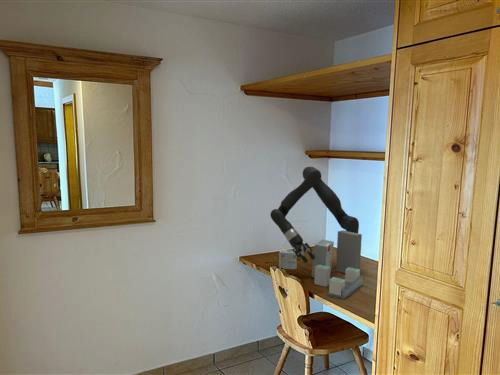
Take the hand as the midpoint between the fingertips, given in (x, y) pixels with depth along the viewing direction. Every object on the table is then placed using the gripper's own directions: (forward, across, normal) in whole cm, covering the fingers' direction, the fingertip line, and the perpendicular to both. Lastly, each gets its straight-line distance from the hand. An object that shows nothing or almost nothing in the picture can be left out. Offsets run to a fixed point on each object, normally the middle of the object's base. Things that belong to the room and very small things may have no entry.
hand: (310, 260), depth 223 cm
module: (+14, +1, +3) cm, 14 cm away
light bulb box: (-7, +13, +25) cm, 29 cm away
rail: (+24, +1, -7) cm, 25 cm away
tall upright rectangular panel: (+16, +29, +1) cm, 33 cm away
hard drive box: (+9, +14, +8) cm, 18 cm away
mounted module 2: (+22, +11, -7) cm, 26 cm away
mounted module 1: (+22, -10, -7) cm, 26 cm away
